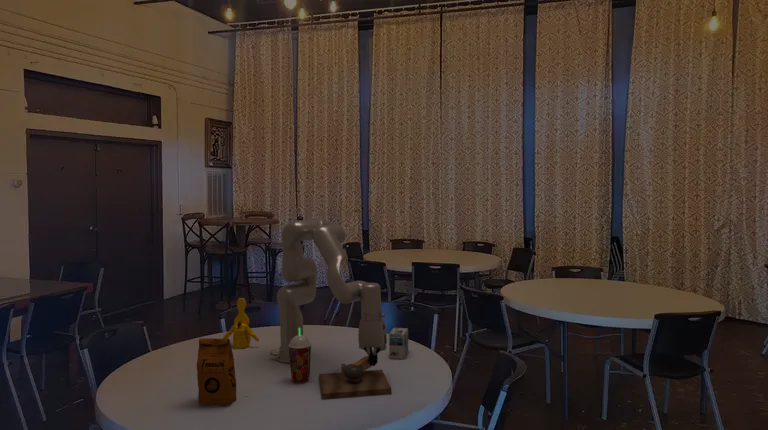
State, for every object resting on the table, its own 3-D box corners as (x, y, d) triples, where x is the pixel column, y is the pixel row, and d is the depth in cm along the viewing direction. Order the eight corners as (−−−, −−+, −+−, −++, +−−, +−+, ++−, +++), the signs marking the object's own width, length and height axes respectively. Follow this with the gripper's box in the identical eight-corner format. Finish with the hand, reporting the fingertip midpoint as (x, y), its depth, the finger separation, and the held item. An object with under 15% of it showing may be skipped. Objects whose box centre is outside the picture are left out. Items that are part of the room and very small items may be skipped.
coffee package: (229, 408, 180) (227, 342, 179) (193, 407, 182) (191, 341, 181) (241, 397, 190) (239, 334, 189) (207, 395, 192) (205, 333, 191)
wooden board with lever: (322, 399, 187) (321, 385, 187) (319, 378, 207) (319, 365, 207) (391, 393, 191) (391, 379, 190) (381, 373, 211) (381, 361, 211)
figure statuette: (219, 349, 247) (217, 301, 245) (224, 344, 254) (223, 297, 253) (258, 349, 246) (257, 300, 245) (262, 344, 254) (261, 297, 253)
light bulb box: (404, 359, 228) (404, 334, 227) (389, 359, 229) (388, 333, 229) (408, 352, 238) (408, 327, 238) (393, 351, 240) (393, 327, 239)
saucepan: (357, 379, 194) (357, 369, 194) (340, 376, 197) (340, 367, 197) (377, 366, 208) (377, 357, 207) (361, 364, 211) (361, 354, 210)
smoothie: (315, 377, 208) (314, 326, 207) (305, 385, 200) (304, 331, 199) (296, 375, 211) (294, 324, 210) (285, 383, 203) (283, 329, 202)
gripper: (393, 314, 205) (395, 363, 206) (356, 313, 210) (358, 360, 211) (387, 319, 198) (388, 369, 199) (349, 317, 203) (351, 366, 204)
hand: (373, 364), depth 205 cm, fingers closed
